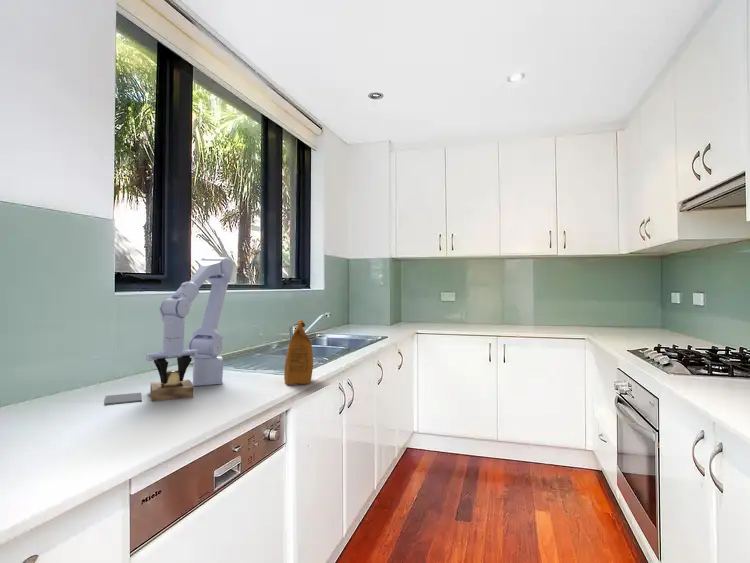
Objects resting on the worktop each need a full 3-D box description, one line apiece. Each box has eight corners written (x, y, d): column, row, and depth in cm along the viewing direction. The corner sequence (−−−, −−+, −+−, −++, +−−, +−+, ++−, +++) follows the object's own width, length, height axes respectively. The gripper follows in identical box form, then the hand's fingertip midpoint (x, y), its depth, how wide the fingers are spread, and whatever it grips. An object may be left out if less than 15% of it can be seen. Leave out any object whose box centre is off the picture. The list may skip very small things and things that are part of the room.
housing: (188, 388, 135) (189, 379, 135) (193, 397, 125) (193, 387, 125) (150, 392, 129) (150, 382, 129) (152, 401, 120) (152, 390, 120)
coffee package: (312, 378, 156) (314, 319, 156) (312, 386, 144) (314, 322, 144) (285, 378, 154) (287, 319, 155) (283, 386, 142) (285, 322, 142)
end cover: (178, 392, 130) (179, 369, 130) (180, 395, 126) (181, 372, 127) (163, 393, 128) (163, 370, 128) (164, 397, 124) (164, 373, 124)
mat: (141, 393, 127) (141, 392, 127) (141, 401, 119) (142, 399, 119) (106, 397, 122) (106, 395, 122) (104, 405, 115) (104, 403, 115)
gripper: (191, 334, 135) (189, 376, 135) (143, 337, 125) (141, 383, 125) (201, 336, 131) (199, 380, 131) (152, 340, 120) (150, 387, 120)
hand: (172, 381), depth 127 cm, fingers closed on end cover, 4 cm apart
